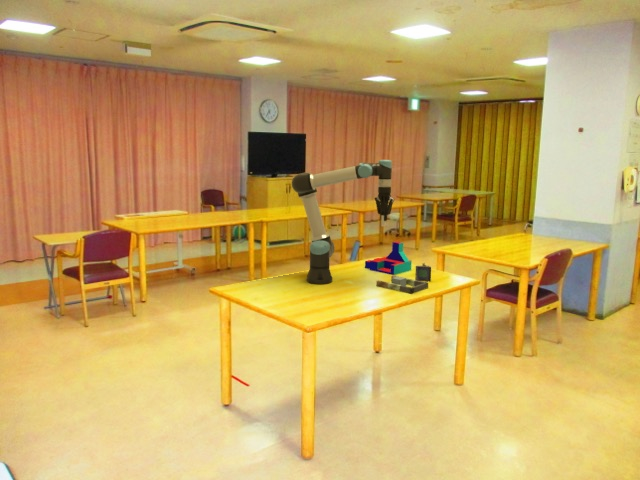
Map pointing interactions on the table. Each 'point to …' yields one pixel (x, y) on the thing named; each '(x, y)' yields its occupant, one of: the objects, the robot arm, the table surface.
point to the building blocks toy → (391, 261)
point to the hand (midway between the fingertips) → (383, 226)
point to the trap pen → (417, 287)
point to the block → (399, 280)
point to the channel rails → (392, 285)
